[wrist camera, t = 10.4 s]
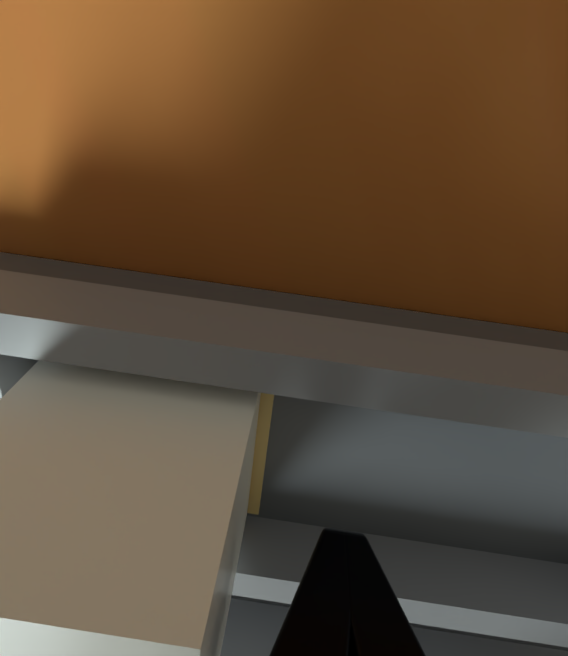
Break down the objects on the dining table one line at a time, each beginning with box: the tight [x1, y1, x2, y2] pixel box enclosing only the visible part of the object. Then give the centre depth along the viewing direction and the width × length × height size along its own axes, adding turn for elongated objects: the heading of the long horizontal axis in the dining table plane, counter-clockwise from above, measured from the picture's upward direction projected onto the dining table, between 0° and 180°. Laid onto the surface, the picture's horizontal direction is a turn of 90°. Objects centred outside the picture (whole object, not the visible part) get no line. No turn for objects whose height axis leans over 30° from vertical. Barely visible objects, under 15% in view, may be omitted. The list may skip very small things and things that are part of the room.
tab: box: [0, 360, 261, 656], centre depth 8 cm, size 4×4×5 cm
